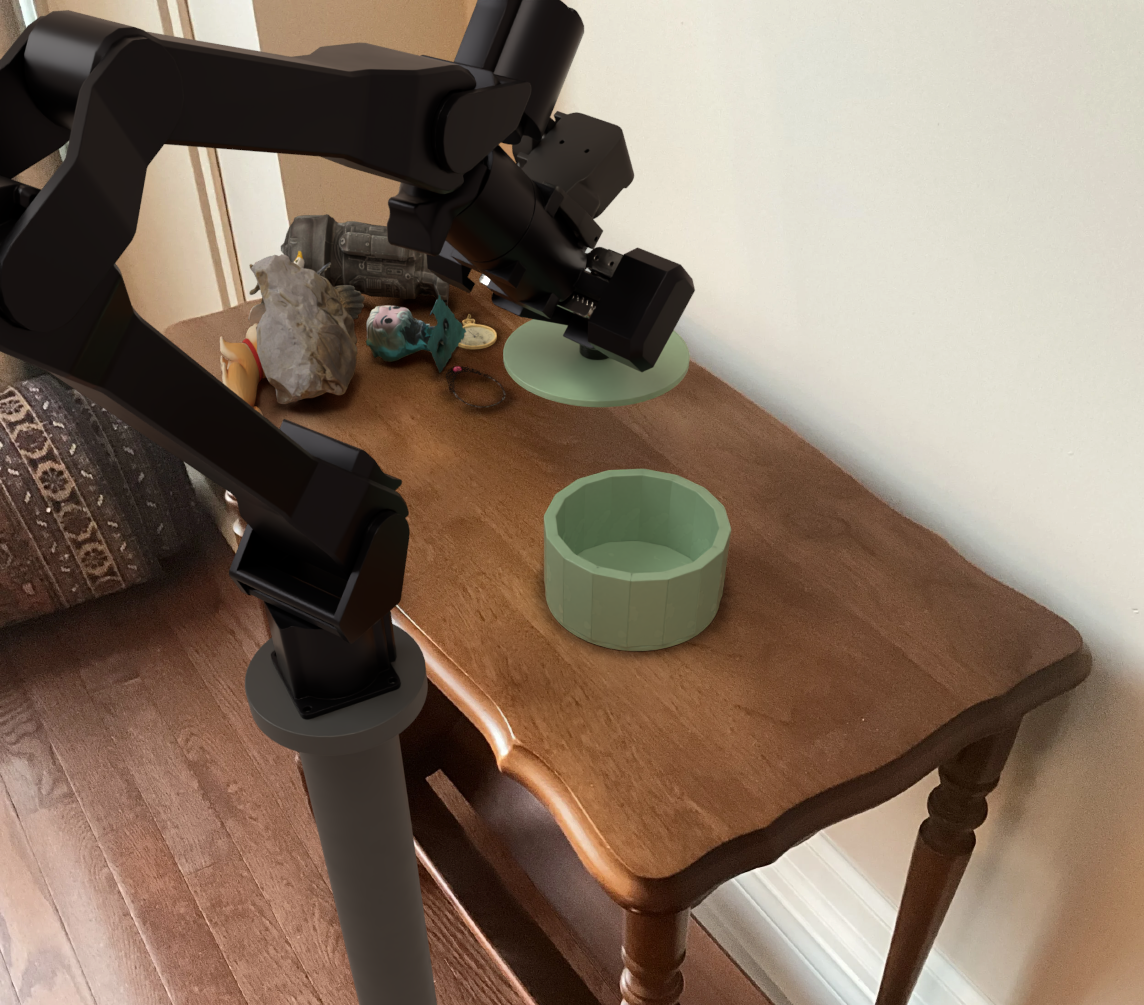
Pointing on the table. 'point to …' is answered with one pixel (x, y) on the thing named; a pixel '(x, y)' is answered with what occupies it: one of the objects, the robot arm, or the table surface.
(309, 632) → the robot arm
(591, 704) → the table surface
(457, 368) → the necklace
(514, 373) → the lid
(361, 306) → the eagle figurine
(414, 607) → the table surface
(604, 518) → the pot
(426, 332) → the figurine
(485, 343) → the pocket watch
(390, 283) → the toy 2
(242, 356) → the toy
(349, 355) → the stone
